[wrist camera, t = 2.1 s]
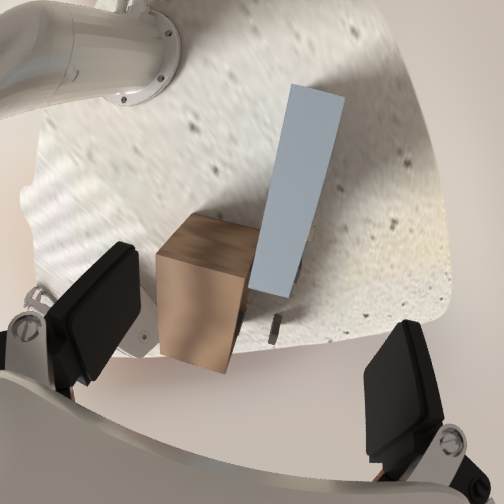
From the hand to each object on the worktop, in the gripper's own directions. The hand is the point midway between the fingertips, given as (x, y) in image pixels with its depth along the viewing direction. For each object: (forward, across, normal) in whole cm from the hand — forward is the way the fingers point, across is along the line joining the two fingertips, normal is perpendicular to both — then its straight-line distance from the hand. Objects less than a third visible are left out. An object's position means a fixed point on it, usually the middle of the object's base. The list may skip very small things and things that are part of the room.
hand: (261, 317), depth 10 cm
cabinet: (+24, +4, +18) cm, 30 cm away
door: (+24, 0, 0) cm, 24 cm away
